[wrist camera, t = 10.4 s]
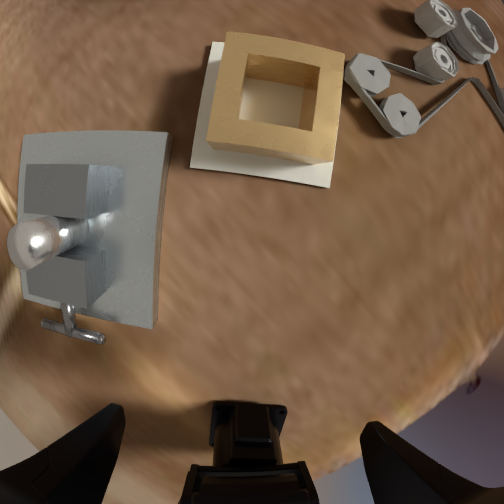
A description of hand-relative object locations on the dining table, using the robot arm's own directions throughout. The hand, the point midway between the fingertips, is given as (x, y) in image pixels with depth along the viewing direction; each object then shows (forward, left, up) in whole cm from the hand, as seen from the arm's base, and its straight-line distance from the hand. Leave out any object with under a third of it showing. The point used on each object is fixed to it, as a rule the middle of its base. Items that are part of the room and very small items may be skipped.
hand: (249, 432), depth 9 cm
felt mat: (+13, 0, -12) cm, 18 cm away
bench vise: (+4, +12, -12) cm, 17 cm away
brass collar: (+13, 0, -12) cm, 17 cm away
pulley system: (+22, -17, -13) cm, 31 cm away
